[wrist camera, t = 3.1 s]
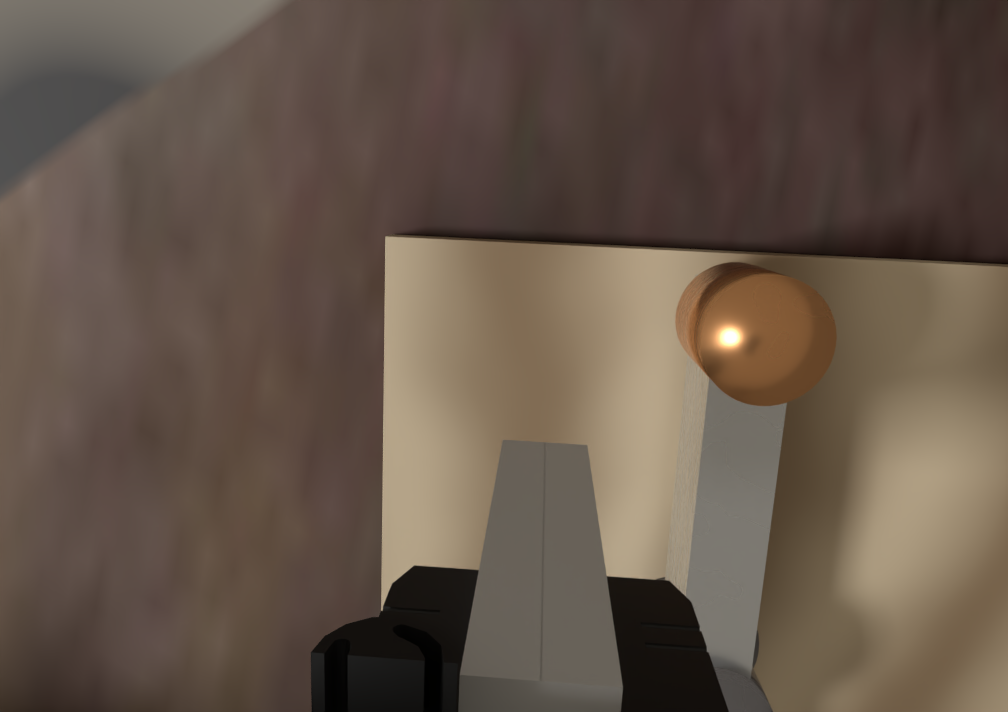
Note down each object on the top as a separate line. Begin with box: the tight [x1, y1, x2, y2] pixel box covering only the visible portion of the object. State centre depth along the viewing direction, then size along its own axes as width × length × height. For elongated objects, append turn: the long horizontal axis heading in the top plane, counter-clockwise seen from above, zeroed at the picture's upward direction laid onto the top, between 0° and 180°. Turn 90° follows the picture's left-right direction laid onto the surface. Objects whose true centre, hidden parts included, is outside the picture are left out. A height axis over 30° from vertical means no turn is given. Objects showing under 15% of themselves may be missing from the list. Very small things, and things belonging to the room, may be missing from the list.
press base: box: [381, 234, 1008, 712], centre depth 20 cm, size 20×16×5 cm
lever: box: [665, 262, 837, 712], centre depth 19 cm, size 3×16×4 cm, turn 177°
